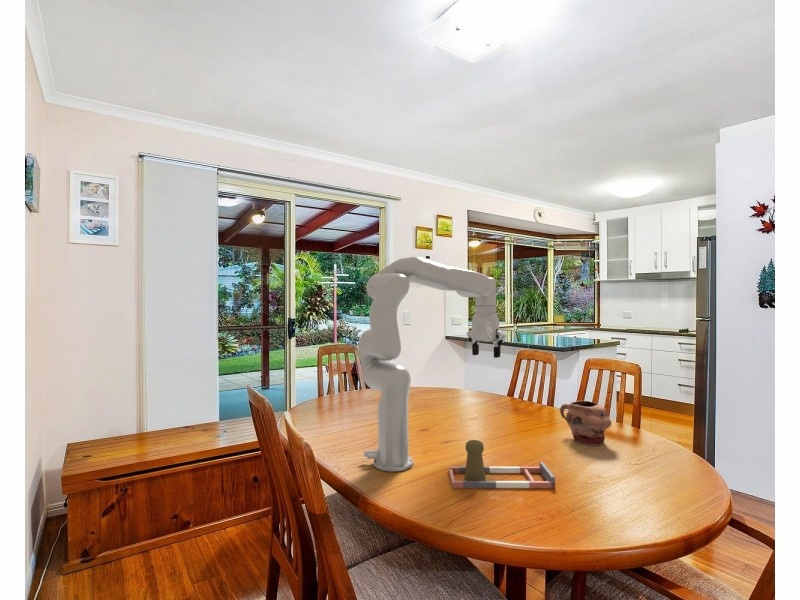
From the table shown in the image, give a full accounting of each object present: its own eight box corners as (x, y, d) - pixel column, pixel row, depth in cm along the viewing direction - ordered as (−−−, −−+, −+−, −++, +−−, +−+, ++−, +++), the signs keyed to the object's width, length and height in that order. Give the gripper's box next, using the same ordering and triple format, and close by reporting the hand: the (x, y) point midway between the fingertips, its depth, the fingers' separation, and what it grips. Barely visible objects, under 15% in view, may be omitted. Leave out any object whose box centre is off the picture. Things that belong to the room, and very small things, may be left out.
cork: (469, 485, 118) (469, 445, 118) (461, 476, 124) (460, 438, 124) (489, 482, 120) (489, 443, 120) (479, 473, 126) (479, 436, 126)
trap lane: (452, 487, 117) (452, 476, 117) (448, 471, 128) (448, 461, 128) (555, 488, 116) (555, 477, 116) (542, 471, 127) (542, 461, 127)
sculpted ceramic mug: (549, 437, 158) (549, 399, 158) (567, 430, 165) (567, 395, 165) (603, 452, 142) (602, 410, 142) (620, 444, 149) (620, 404, 149)
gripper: (461, 310, 163) (461, 355, 163) (499, 311, 150) (499, 359, 150) (473, 310, 168) (473, 353, 168) (511, 310, 155) (511, 357, 155)
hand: (486, 356), depth 159 cm, fingers open, 9 cm apart
